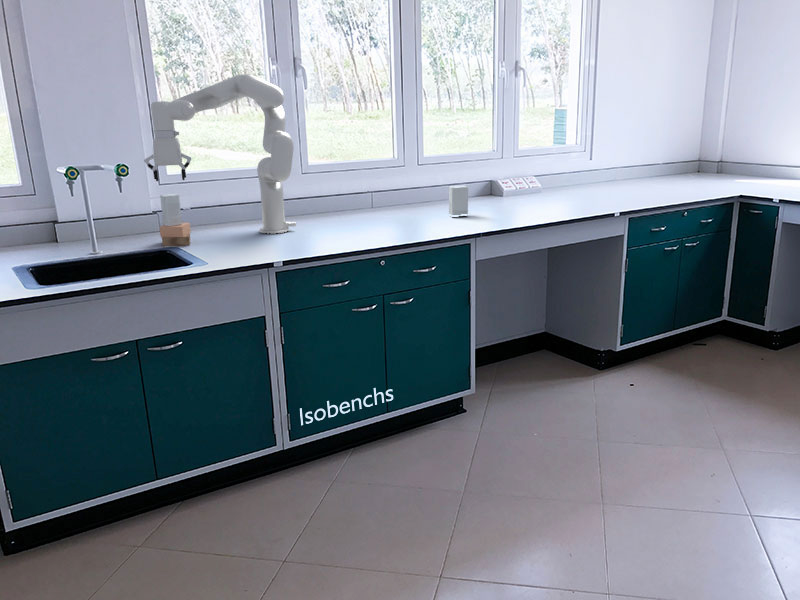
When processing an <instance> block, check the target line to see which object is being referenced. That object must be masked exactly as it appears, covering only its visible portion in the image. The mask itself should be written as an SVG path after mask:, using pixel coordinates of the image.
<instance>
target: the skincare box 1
mask: <svg viewBox="0 0 800 600" xmlns="http://www.w3.org/2000/svg"><path fill="white" fill-rule="evenodd" d="M159 198H160V204H161V205H160V206H161V215H162V223H163V225H165V226H168V227H169V226H175V225H182V223H183V222H182V221H183V219H182V211H181V203H180V202H181V201H180V195H179V194H178V193H168V194H160V195H159Z"/></svg>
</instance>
